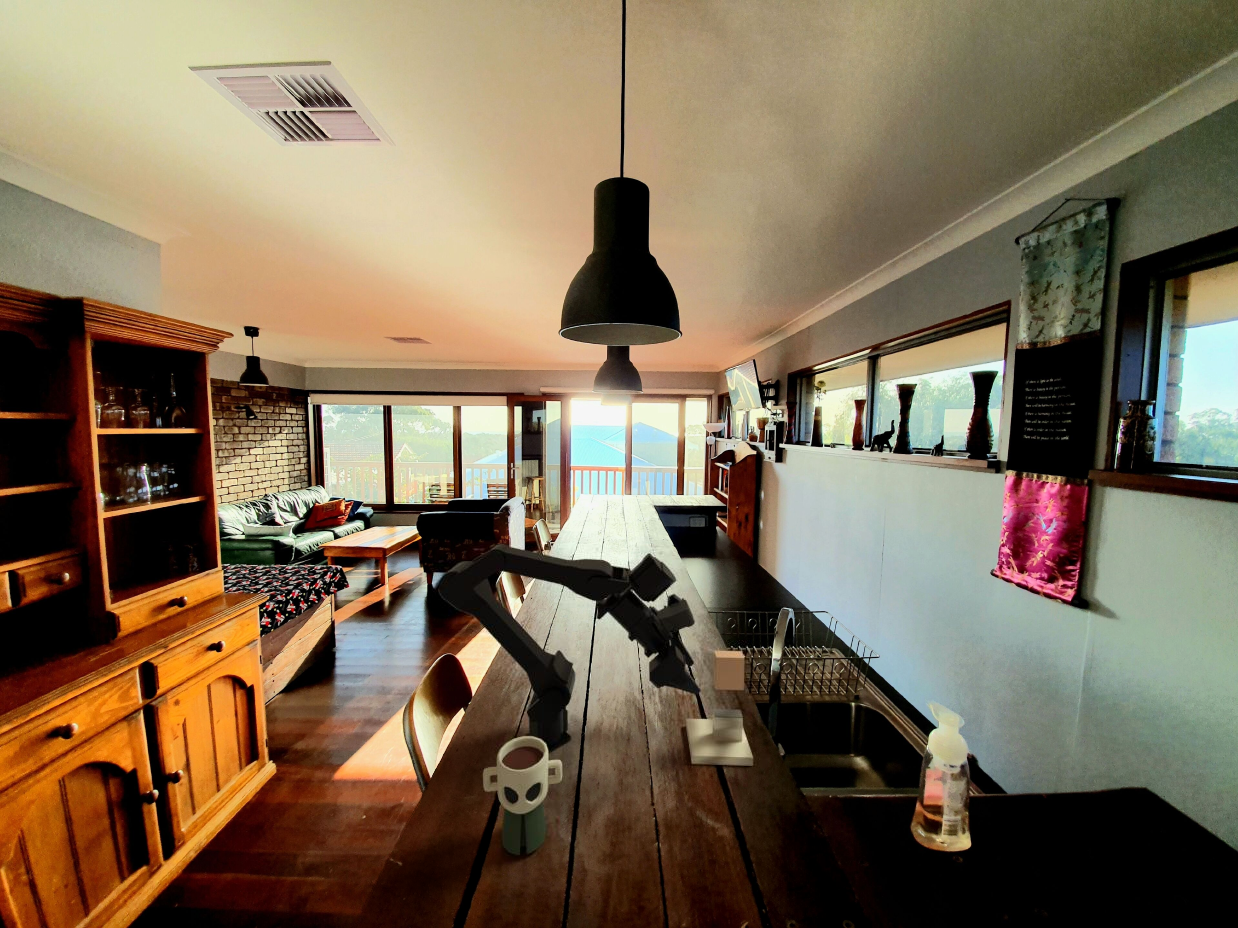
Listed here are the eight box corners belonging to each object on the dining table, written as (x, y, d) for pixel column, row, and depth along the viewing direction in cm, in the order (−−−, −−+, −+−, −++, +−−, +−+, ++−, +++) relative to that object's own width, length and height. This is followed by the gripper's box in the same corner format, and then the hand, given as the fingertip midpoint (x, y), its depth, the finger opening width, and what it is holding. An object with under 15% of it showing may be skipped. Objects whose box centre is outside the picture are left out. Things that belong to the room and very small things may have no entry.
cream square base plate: (691, 763, 80) (692, 729, 79) (686, 725, 90) (686, 695, 89) (752, 765, 79) (753, 731, 79) (740, 727, 89) (741, 697, 89)
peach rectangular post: (715, 689, 82) (716, 657, 82) (713, 681, 85) (714, 650, 84) (743, 689, 82) (744, 657, 81) (740, 682, 84) (741, 651, 84)
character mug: (481, 867, 61) (478, 776, 60) (488, 821, 68) (485, 739, 67) (563, 855, 63) (562, 766, 62) (562, 812, 70) (561, 731, 69)
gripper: (671, 608, 73) (739, 677, 73) (665, 570, 91) (719, 625, 92) (621, 654, 74) (688, 721, 74) (625, 607, 92) (678, 662, 93)
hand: (695, 677), depth 83 cm, fingers open, 9 cm apart
